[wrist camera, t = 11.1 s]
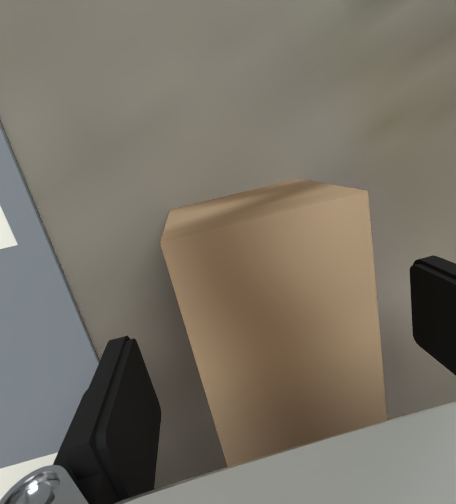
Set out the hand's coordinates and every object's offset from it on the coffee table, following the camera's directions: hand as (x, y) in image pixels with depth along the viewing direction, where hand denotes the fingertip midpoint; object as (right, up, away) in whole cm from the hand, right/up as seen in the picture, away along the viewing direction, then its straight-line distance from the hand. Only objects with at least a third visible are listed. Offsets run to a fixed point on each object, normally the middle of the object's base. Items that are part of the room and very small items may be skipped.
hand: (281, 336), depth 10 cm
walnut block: (-1, +1, +3) cm, 3 cm away
